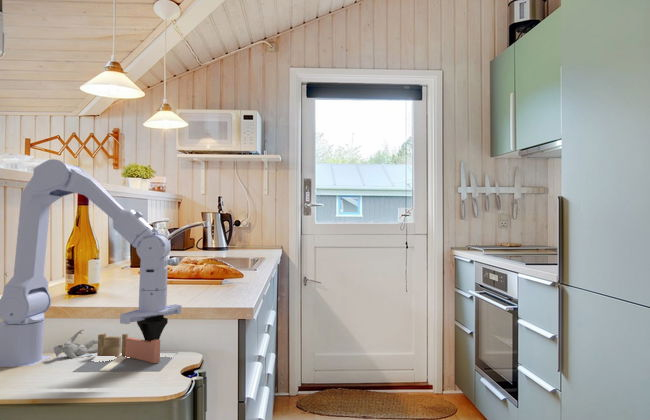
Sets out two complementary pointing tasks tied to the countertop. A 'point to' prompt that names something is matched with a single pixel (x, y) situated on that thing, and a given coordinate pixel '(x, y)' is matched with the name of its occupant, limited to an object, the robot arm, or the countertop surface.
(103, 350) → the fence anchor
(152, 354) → the fence panel
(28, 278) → the robot arm
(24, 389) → the countertop surface
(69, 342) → the soldier figure
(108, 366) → the board
